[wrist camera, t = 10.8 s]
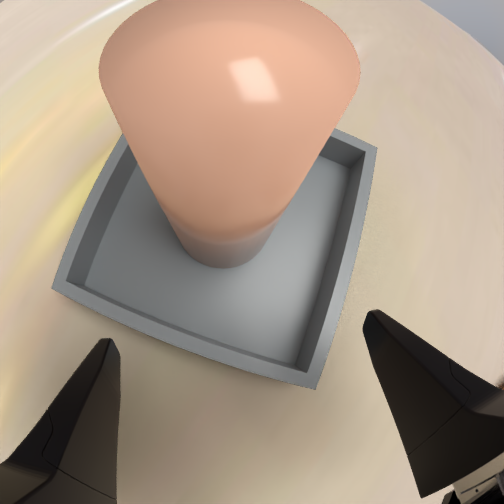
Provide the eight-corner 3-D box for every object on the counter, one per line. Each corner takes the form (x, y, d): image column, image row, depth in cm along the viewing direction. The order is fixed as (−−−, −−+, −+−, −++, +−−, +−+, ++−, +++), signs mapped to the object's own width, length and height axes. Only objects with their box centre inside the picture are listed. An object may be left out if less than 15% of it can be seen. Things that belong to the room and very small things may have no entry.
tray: (357, 169, 22) (377, 147, 19) (299, 377, 18) (315, 389, 15) (167, 103, 21) (162, 74, 18) (76, 293, 18) (51, 288, 14)
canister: (288, 221, 19) (398, 63, 6) (223, 288, 18) (228, 210, 5) (223, 162, 20) (234, -29, 6) (157, 222, 19) (60, 58, 5)
